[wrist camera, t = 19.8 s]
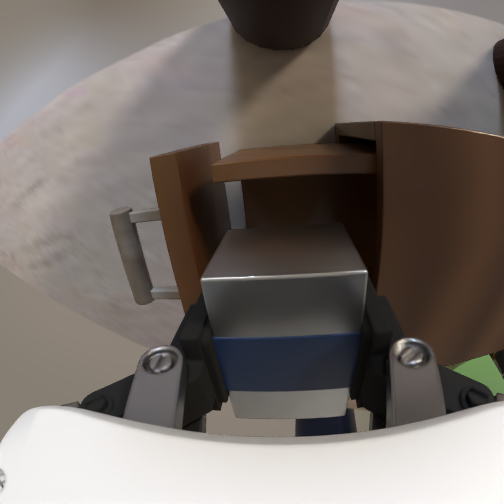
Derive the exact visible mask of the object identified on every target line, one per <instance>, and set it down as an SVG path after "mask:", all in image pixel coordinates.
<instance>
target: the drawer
mask: <svg viewBox="0 0 504 504" xmlns="http://www.w3.org/2000/svg"><path fill="white" fill-rule="evenodd" d="M150 164H151V170H152V176H153V181H154V186H155V192H156V197H157V202H158V207H157V208H150V209H142V210H135V211H133V210H132V208H131V207H123V208H119V209H116V210H114V211H112V212H111V213H110V219H111V223H112V227H113V231H114V234H115V238H116V241H117V245H118V249H119V252H120V255H121V259H122V262H123V265H124V268H125V272H126V275H127V278H128V281H129V284H130V287H131V290H132V293H133V296H134V298H135V301H136V303H137V304H139V305H145V304H148V303H151V302H152V301H153V300H154V299H181V302H182V305H183V309H184V312H185V315H186V313H187V311H188V309H189V307H190V305H191V304H196V302H197V300H198V298H199V296H200V294H201V292H202V287H201V282H200V279H201V277H202V275H203V273H204V271H205V269H206V267H207V265H208V264H209V262H210V260H211V258H212V256H213V254H214V253H215V251H216V249H217V247H218V245H219V244H220V242H221V240H222V238H223V236H224V235H225V233H226V231H227V230H230V229H231V226H230V219H229V212H228V205H227V198H226V191H225V184H224V182H232V181H241V185H242V193H243V201H244V209H245V217H246V225H247V228H259V227H274V226H291V225H308V224H327V223H342V224H343V225H344V227H345V229H346V231H347V232H348V234H349V236H350V238H351V240H352V242H353V243H354V245H355V247H356V249H357V251H358V253H359V255H360V257H361V259H362V261H363V262H364V264H365V266H366V268H367V271H368V276H369V278H370V280H371V282H372V278H373V267H374V255H375V241H376V220H377V152H376V143H330V144H305V145H288V146H275V147H263V148H253V149H243V150H239V151H237V152H235V153H233V154H231V155H229V156H227V157H225V158H223V159H221V154H220V147H219V142H213V143H206V144H200V145H196V146H192V147H188V148H184V149H180V150H176V151H172V152H168V153H164V154H161V155H157V156H153V157H150ZM156 220H161V221H162V226H163V230H164V235H165V239H166V243H167V248H168V252H169V256H170V260H171V264H172V268H173V272H174V276H175V280H176V283H177V286H175V287H153V286H152V282H151V279H150V276H149V272H148V269H147V265H146V262H145V258H144V254H143V251H142V247H141V243H140V239H139V235H138V231H137V227H136V223H138V222H147V221H156Z"/></svg>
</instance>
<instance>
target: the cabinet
mask: <svg viewBox="0 0 504 504" xmlns="http://www.w3.org/2000/svg"><path fill="white" fill-rule="evenodd" d="M335 130H336V143H376V152H377V220H376V241H375V255H374V267H373V278H372V284H373V286H374V288H375V291H376V293H377V295H378V296H382V295H384V296H386V297H387V299H388V301H389V303H390V305H391V307H392V309H393V311H394V313H395V316H396V318H397V320H398V322H399V324H400V326H401V328H402V331H403V333H404V335H405V337H417V338H419V339H422V340H424V341H426V342H427V343H429V344H430V345H431V346H432V348H433V350H434V352H435V356H436V360H437V364H439V365H441V366H448V365H452V364H456V363H460V362H464V361H467V360H471V359H475V358H478V357H481V356H484V355H488V354H491V353H494V352H497V351H500V350H503V349H504V137H503V136H499V135H494V134H489V133H484V132H478V131H473V130H467V129H460V128H454V127H446V126H438V125H430V124H419V123H408V122H393V121H368V122H350V123H336V124H335Z"/></svg>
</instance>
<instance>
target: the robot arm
mask: <svg viewBox="0 0 504 504" xmlns="http://www.w3.org/2000/svg"><path fill="white" fill-rule="evenodd" d="M228 396H229V393H228V391H227V390H226V387H225V383H224V380H223V376H222V373H221V369H220V365H219V362H218V358H217V354H216V351H215V347H214V343H213V333H212V329H211V325H210V321H209V317H208V313H207V308H206V304H205V300H204V296H203V291H202V292H201V294H200V296H199V298H198V300H197V302H196V304H191V305H190V307H189V309H188V311H187V313H186V315H185V317H184V319H183V321H182V323H181V325H180V327H179V329H178V331H177V333H176V335H175V337H174V339H173V341H172V343H171V345H161V346H156V347H154V348H151V349H149V350H148V351H147V352H145V353H144V354H143V355H142V356H141V358H140V360H139V362H138V365H137V369H136V372H135V374H133V375H130V376H128V377H126V378H124V379H122V380H120V381H117V382H115V383H113V384H111V385H108V386H106V387H104V388H102V389H100V390H97V391H95V392H93V393H91V394H89V395H88V396H87V397H86V398H84V400H83V401H82V403H81V404H79V402H74V403H69V404H65V405H60V406H42V407H36V408H32V409H30V410H28V411H26V412H25V413H23V414H22V415H21V416H20V417H19V418H18V420H17V421H16V422H15V423H14V424H13V425H12V427H11V428H10V429H9V431H8V432H7V433H6V435H5V437H4V438H3V439H2V441H1V443H0V504H504V394H501V393H497V394H496V396H493V394H492V392H491V391H490V389H489V388H488V387H487V386H485V385H484V384H482V383H480V382H477V381H475V380H473V379H471V378H468V377H466V376H464V375H461V374H459V373H457V372H455V371H452V370H450V369H448V368H446V367H443V366H441V365H439V364H437V360H436V356H435V352H434V350H433V348H432V346H431V345H430V344H429V343H427V342H426V341H424V340H422V339H419V338H417V337H405V335H404V333H403V331H402V328H401V326H400V324H399V322H398V320H397V318H396V316H395V313H394V311H393V309H392V307H391V305H390V303H389V301H388V299H387V297H386V296H384V295H382V296H378V295H377V293H376V291H375V288H374V286H373V284H372V282H371V280H370V278H369V276H368V279H367V289H366V299H365V307H364V315H363V322H362V326H361V338H360V344H359V350H358V356H357V362H356V367H355V372H354V377H353V382H352V387H351V389H350V398H351V400H354V399H356V403H357V408H360V407H364V408H365V409H367V410H369V411H371V413H370V426H369V431H364V432H356V433H348V434H337V435H325V436H308V437H249V436H232V435H221V434H210V433H206V414H207V413H209V412H210V411H212V410H219V411H220V410H221V406H222V402H227V401H228Z"/></svg>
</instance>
